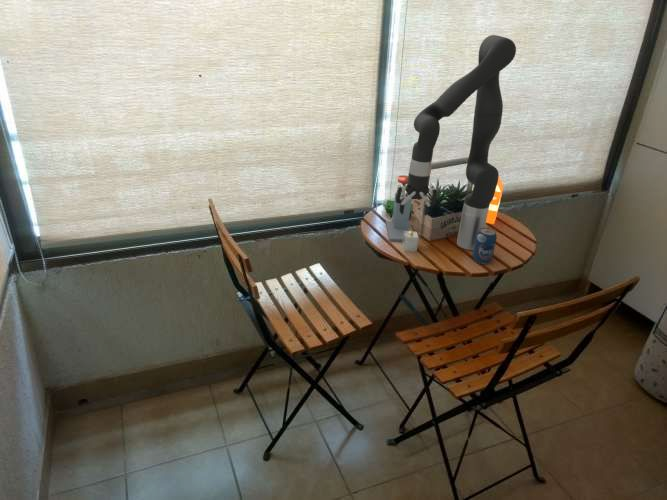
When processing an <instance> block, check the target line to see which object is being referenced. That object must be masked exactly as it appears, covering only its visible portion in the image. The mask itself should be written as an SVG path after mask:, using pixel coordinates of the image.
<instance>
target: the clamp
mask: <svg viewBox="0 0 667 500" xmlns="http://www.w3.org/2000/svg"><path fill="white" fill-rule="evenodd" d="M393 208H394V200H390V199H387V200H386V203H385V205H384V210H385V212H386V213H387V214H389V213H390V218H391V219H392V216H393ZM413 208H414V203H411V208H410V215H409V216H410V217H411V216H412V215H413Z"/></svg>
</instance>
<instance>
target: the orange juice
mask: <svg viewBox="0 0 667 500" xmlns="http://www.w3.org/2000/svg"><path fill="white" fill-rule="evenodd" d="M503 191H504V184H503V182H502V180H501V178H500V176H499V178H498V183H497V187H496V190H495V194H494V197H493V199H492V201H491V202H490V206H489V210H488V215H487V220H486V224H491V225H495V222H496V219H497V215H498V211H499V207H500V203H501V198H502V195H503Z"/></svg>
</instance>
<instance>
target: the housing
mask: <svg viewBox="0 0 667 500" xmlns="http://www.w3.org/2000/svg"><path fill="white" fill-rule="evenodd" d="M419 237H420V236H419V234H418V232H417V231H414V230H413V231H403V239H402V242H401V248H402V252H411V253H412V252H417V251H418V244H419Z"/></svg>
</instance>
